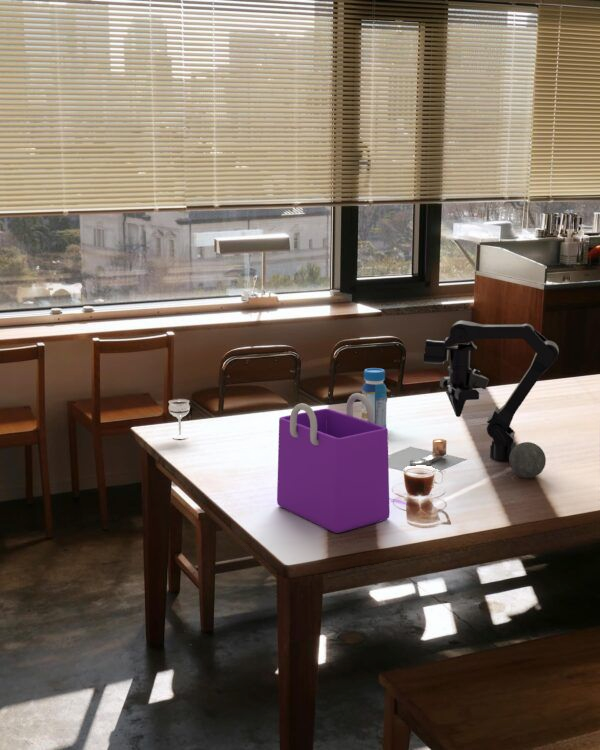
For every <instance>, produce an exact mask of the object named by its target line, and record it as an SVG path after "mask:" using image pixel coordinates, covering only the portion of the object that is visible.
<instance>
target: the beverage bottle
mask: <svg viewBox="0 0 600 750" xmlns="http://www.w3.org/2000/svg"><path fill="white" fill-rule="evenodd" d="M385 379H386V370H385V369H383V368H379V367H378V368H377V367H370V368H365V369H364V371H363V380H364V381H365V382H364V383H363V385H362V388H361V394H363V395H364V396H366V397H367V398H368V400H369V401H370V403H371V405H372V407H373V412H374V424H377V425H380V426H383V427H386V428H387V402H388V396H387V392H388V389H387V386H386V384H385V383H384V381H385ZM361 419H362V420H365V421H368V418H367V410H366V407H365V405H364V404H363V402H362V401H361Z"/></svg>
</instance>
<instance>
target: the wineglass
mask: <svg viewBox="0 0 600 750" xmlns="http://www.w3.org/2000/svg"><path fill="white" fill-rule="evenodd" d="M189 403H190V400H189V399H185V398H174V399H171V400H168V404H169V405H168V412H169V414H170V415H172V416H173V417H176V419H177V420H178V432H179V434H178V436H179V435H181V433H182V432H181V431H182V430H181V429H182V428H181V427H182V425H181V423H182V421H181V420H182V419H183V417H185V416H187V415H188V414H189V413H190V408H191V405H190V404H189Z"/></svg>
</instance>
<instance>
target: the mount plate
mask: <svg viewBox="0 0 600 750" xmlns="http://www.w3.org/2000/svg"><path fill="white" fill-rule="evenodd" d="M432 454H433V450H428V449H422V448H419V447H414V446H409V447H406V448H404V449H401V450H398V451H396V452H394V453H393V452H392V453H390V454H388V467H389V468H390V469H392V470H398V471H402V472H404V471H403V469H404V468H405V467H407V466H410V460H412V459H423V458H425V457H428V456H430V455H432ZM466 460H467V458H464V457H458V456H454V455H451V454H450V455H449V454H447V453H446V455H444V456H443V458H441V459H439V460H436V461H434V462H432V463H431V466H432V467H433V468H435V469H438V470H440V471H439V472H441V471H443V470H445V469H448V468H450V467H453V466H455V465H457V464H459V463H461V462H465V461H466Z"/></svg>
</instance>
